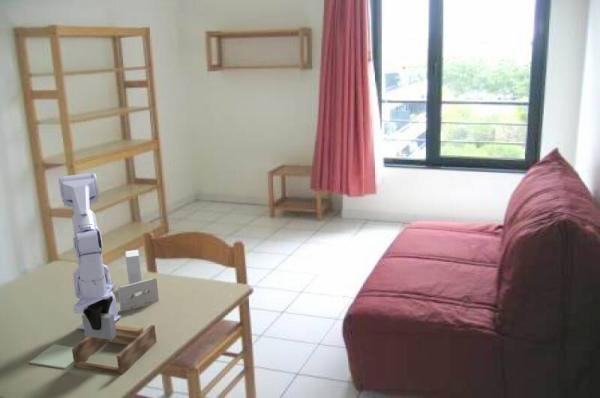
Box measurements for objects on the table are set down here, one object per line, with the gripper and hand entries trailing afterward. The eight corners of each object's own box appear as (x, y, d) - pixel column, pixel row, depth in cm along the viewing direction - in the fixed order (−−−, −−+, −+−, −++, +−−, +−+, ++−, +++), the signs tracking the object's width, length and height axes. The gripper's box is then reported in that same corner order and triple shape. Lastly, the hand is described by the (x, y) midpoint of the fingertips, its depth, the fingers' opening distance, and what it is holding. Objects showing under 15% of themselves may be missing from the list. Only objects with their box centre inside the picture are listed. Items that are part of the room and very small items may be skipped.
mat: (53, 345, 158) (53, 344, 158) (88, 350, 155) (88, 349, 154) (29, 363, 150) (29, 362, 149) (65, 369, 146) (65, 367, 146)
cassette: (157, 299, 184) (155, 276, 182) (159, 301, 183) (157, 278, 181) (119, 310, 178) (116, 286, 176) (121, 312, 176) (118, 288, 174)
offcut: (116, 338, 161) (114, 323, 160) (145, 341, 158) (143, 327, 157) (111, 342, 159) (109, 327, 158) (140, 346, 156) (138, 331, 155)
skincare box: (129, 284, 196) (125, 251, 193) (142, 282, 197) (138, 249, 194) (129, 291, 190) (125, 257, 187) (143, 289, 192) (139, 255, 188)
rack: (112, 336, 162) (109, 319, 161) (156, 342, 158) (154, 325, 156) (74, 366, 147) (71, 349, 146) (122, 374, 143) (120, 356, 142)
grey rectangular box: (89, 332, 151) (86, 311, 150) (116, 335, 149) (113, 314, 147) (85, 336, 150) (81, 314, 148) (112, 339, 147) (108, 318, 146)
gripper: (88, 291, 137) (95, 342, 141) (123, 267, 150) (129, 315, 154) (63, 288, 139) (71, 339, 143) (99, 265, 152) (106, 312, 156)
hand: (99, 326), depth 149 cm, fingers closed on grey rectangular box, 2 cm apart
